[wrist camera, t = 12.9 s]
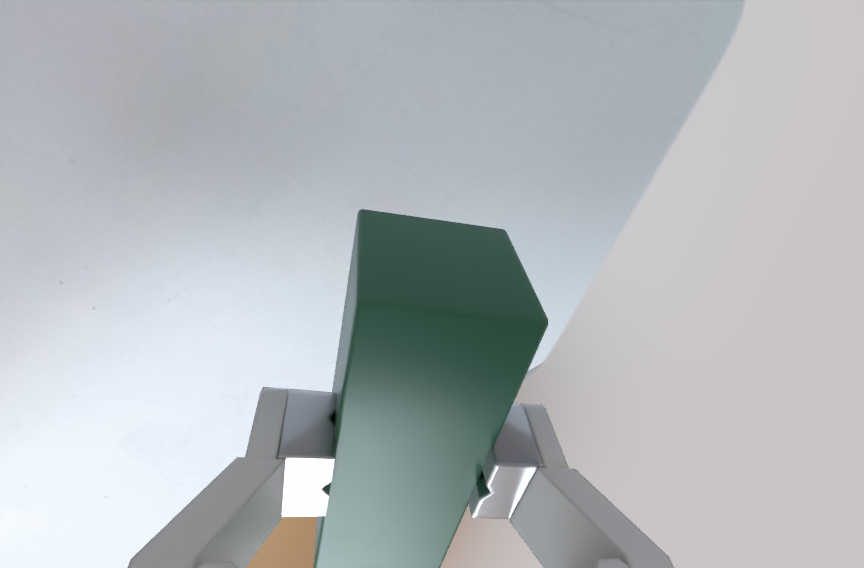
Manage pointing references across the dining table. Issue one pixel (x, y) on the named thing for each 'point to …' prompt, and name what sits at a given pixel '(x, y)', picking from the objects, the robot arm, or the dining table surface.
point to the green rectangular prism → (421, 384)
